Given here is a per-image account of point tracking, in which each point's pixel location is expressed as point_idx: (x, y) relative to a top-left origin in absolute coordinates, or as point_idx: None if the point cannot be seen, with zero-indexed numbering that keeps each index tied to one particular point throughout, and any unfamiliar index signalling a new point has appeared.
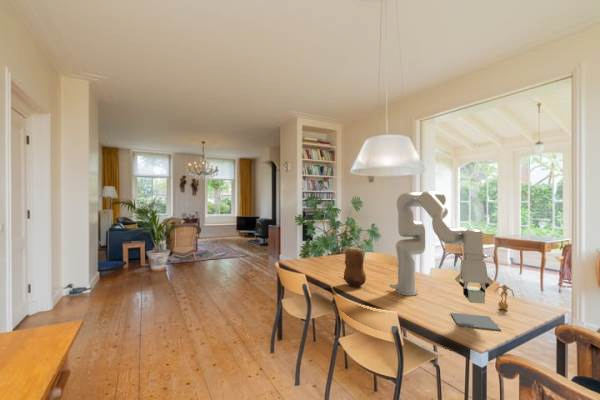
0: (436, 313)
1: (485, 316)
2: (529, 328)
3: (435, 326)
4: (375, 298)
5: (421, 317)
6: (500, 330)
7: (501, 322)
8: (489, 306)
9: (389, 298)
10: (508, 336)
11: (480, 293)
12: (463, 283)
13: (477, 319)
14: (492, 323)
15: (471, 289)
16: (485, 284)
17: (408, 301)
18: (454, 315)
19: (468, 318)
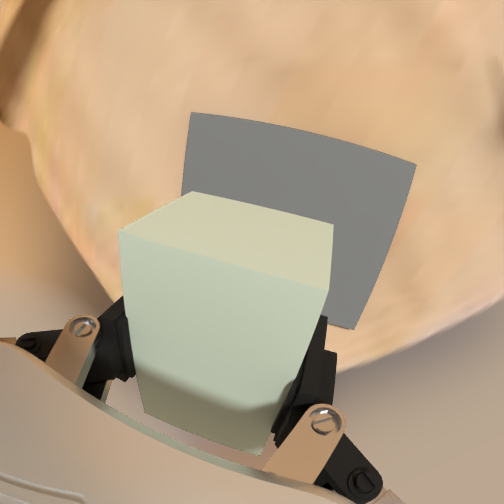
0: (127, 120)
1: (392, 167)
2: (495, 301)
3: (104, 266)
4: (3, 37)
5: (71, 183)
6: (352, 326)
7: (436, 235)
8: (496, 10)
9: (30, 11)
10: (346, 362)
11: (227, 440)
12: (61, 355)
13: (311, 212)
14: (365, 267)
15: (174, 369)
16: (337, 481)
17: (69, 5)
18: (196, 156)
19: (262, 197)
